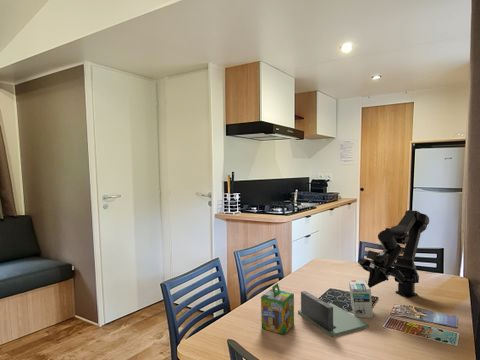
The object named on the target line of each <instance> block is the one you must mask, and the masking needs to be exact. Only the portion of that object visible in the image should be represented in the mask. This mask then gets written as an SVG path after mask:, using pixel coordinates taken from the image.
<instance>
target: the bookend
mask: <svg viewBox="0 0 480 360" xmlns="http://www.w3.org/2000/svg"><path fill="white" fill-rule="evenodd" d="M300 310H301V313H303V314H304V315H305V316H307V317H308V318H310V319H311V320H313V321H314V322H315V323H317V324H318V325H320V326H321V327H323V328H324V329H326V330H327V331H328V332H329V331H332V330H333V328H336V326H334V325H333V307H332V306H331V305H329V303H327V302H326V301H324V300H322V299H320V298H318V297H317V296H315V295H314V294H311V293H310V292H308V291H306V290H303V291H300Z"/></svg>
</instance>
